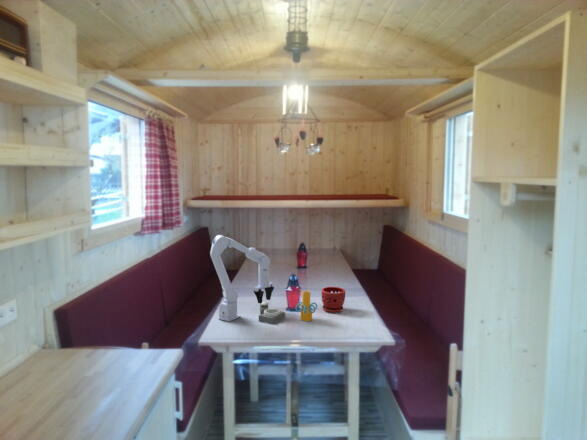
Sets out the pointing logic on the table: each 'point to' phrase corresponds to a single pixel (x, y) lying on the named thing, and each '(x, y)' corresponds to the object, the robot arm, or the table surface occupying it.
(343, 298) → the plant pot
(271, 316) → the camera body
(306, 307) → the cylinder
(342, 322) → the table surface
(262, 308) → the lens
